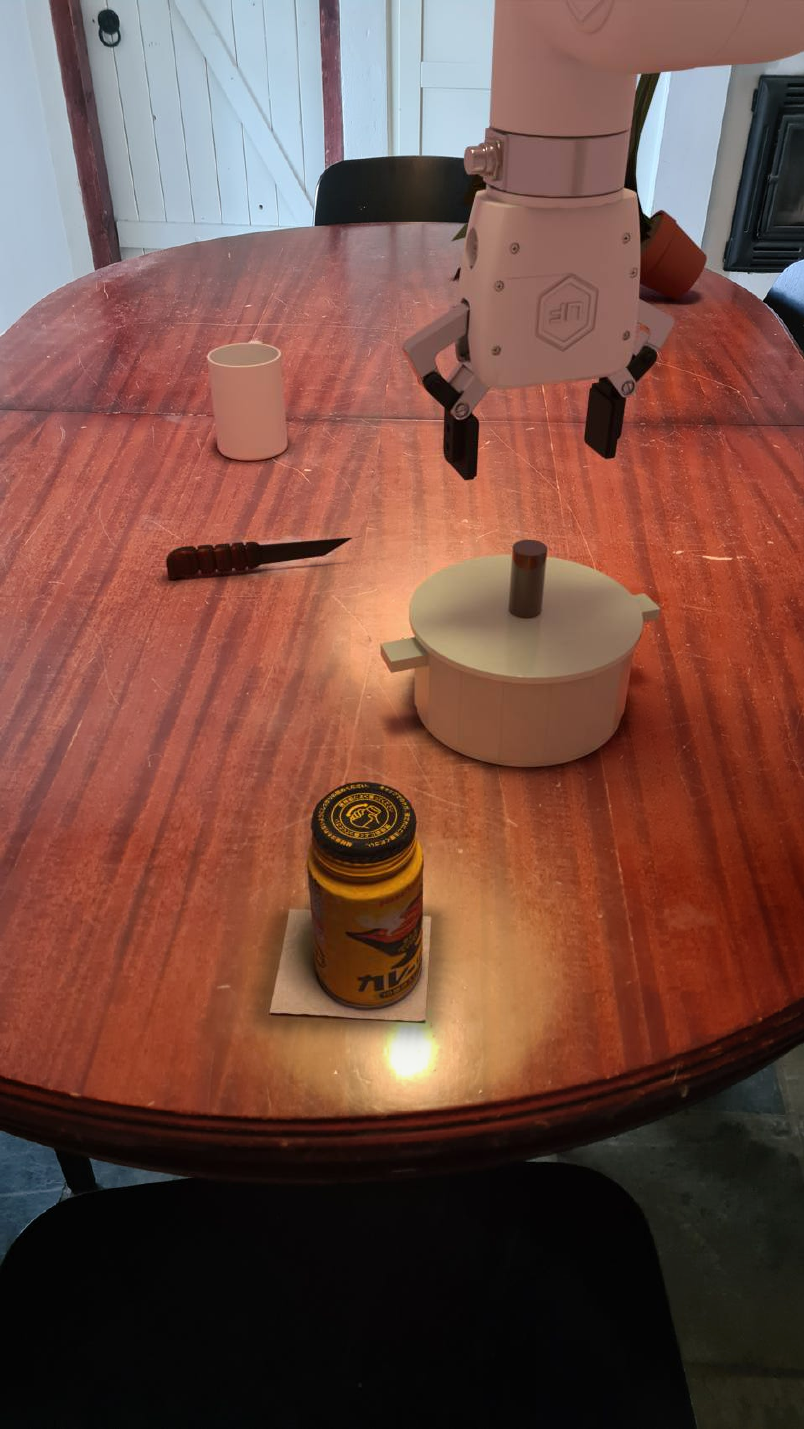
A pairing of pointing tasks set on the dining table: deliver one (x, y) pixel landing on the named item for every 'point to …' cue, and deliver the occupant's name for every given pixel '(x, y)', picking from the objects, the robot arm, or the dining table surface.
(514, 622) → the lid
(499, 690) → the pot
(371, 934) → the condiment
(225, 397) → the mug
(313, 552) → the knife
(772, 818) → the dining table surface
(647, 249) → the potted plant
